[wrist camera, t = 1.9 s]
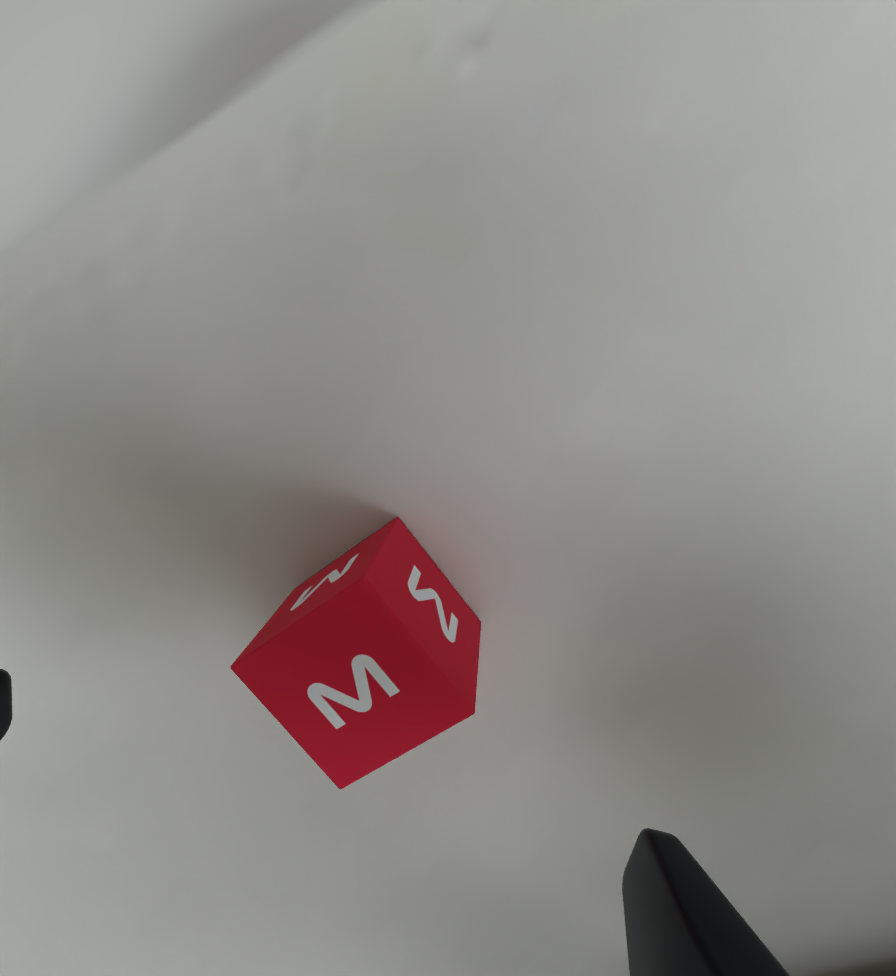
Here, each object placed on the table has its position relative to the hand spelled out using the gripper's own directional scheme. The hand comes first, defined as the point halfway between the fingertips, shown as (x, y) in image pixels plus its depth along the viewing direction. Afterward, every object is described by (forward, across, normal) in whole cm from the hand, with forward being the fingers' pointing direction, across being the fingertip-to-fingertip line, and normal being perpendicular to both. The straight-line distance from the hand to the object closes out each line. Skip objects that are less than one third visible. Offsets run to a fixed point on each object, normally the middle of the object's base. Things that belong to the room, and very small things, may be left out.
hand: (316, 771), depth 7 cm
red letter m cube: (+5, 0, 0) cm, 5 cm away
